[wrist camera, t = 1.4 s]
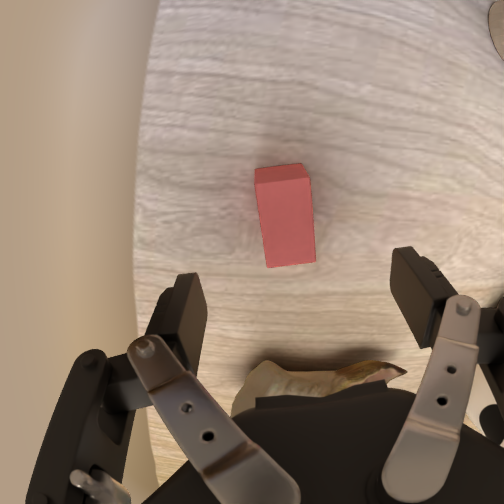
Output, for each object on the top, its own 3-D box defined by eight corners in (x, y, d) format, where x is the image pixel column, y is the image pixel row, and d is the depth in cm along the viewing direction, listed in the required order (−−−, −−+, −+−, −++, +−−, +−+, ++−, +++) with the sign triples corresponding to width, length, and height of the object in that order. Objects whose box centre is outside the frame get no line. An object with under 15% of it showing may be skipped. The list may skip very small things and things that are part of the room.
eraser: (254, 168, 18) (254, 183, 15) (301, 162, 18) (310, 177, 15) (265, 243, 21) (267, 268, 18) (308, 238, 20) (316, 262, 18)
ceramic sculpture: (245, 425, 16) (434, 419, 19) (242, 324, 24) (399, 343, 26) (215, 476, 21) (366, 472, 24) (216, 397, 29) (349, 406, 31)
